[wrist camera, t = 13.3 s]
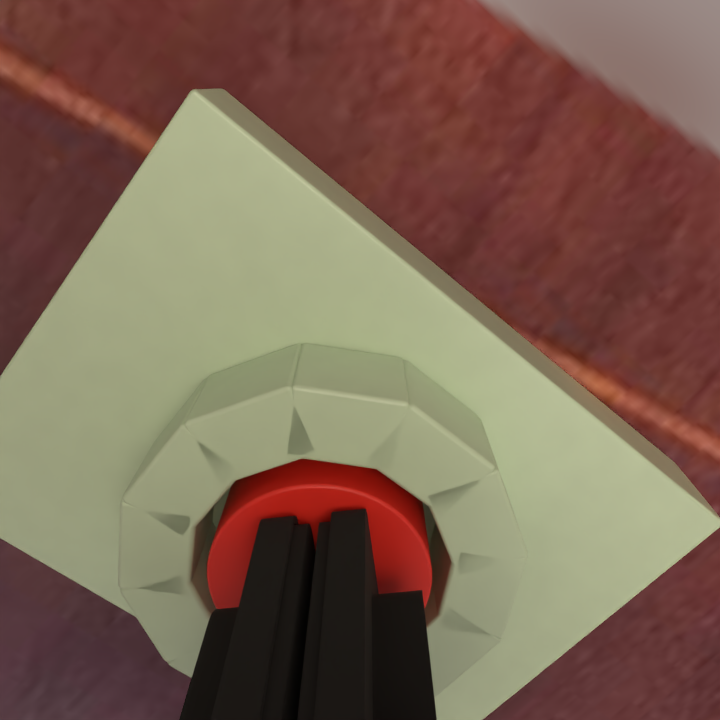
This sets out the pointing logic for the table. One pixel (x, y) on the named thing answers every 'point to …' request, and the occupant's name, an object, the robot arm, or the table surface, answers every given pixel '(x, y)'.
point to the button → (314, 505)
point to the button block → (317, 413)
